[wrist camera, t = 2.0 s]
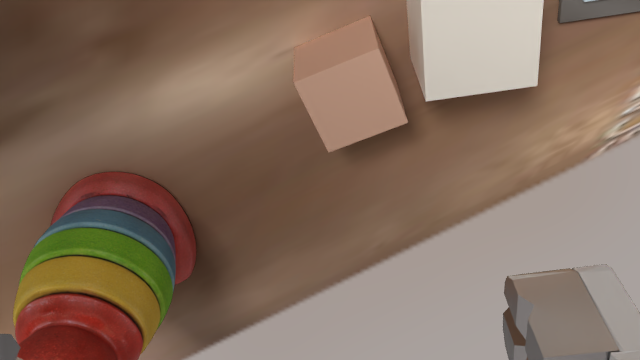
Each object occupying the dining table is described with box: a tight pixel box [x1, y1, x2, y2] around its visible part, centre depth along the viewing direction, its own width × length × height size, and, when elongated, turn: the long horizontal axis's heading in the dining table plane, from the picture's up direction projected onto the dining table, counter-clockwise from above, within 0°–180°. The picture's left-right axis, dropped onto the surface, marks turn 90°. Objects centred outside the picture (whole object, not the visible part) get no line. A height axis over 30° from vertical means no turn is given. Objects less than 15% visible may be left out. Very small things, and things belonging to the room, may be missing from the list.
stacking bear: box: [13, 172, 196, 360], centre depth 37 cm, size 11×10×18 cm
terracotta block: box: [293, 16, 408, 152], centre depth 35 cm, size 5×5×5 cm
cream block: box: [407, 0, 544, 101], centre depth 33 cm, size 6×6×6 cm
